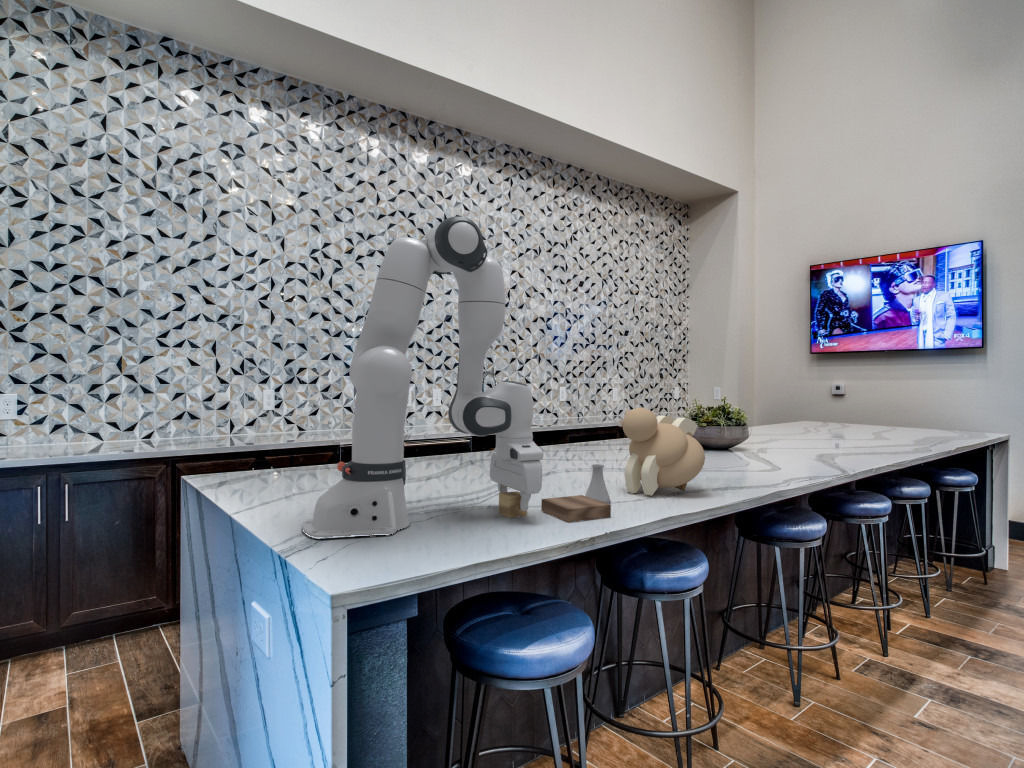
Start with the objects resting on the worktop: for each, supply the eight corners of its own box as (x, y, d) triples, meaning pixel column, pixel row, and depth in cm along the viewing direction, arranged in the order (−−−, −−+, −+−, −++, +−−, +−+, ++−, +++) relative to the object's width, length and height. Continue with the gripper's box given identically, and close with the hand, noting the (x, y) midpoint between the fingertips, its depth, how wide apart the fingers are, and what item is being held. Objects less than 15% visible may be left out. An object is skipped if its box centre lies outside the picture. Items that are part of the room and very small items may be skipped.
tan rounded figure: (635, 377, 179) (702, 379, 162) (667, 442, 192) (733, 449, 175) (585, 447, 164) (653, 457, 147) (624, 511, 177) (691, 527, 160)
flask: (609, 499, 158) (610, 463, 158) (611, 505, 151) (612, 467, 150) (583, 498, 159) (583, 462, 158) (583, 504, 151) (584, 466, 151)
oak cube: (508, 518, 136) (508, 496, 136) (498, 513, 140) (499, 492, 140) (526, 516, 138) (527, 495, 138) (516, 511, 143) (517, 491, 143)
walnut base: (568, 522, 132) (568, 509, 132) (541, 511, 143) (541, 499, 143) (610, 517, 138) (610, 504, 138) (581, 506, 149) (581, 495, 149)
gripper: (483, 444, 147) (483, 498, 147) (523, 454, 129) (522, 516, 129) (506, 443, 150) (505, 496, 150) (547, 453, 132) (546, 513, 132)
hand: (513, 505), depth 139 cm, fingers open, 8 cm apart
